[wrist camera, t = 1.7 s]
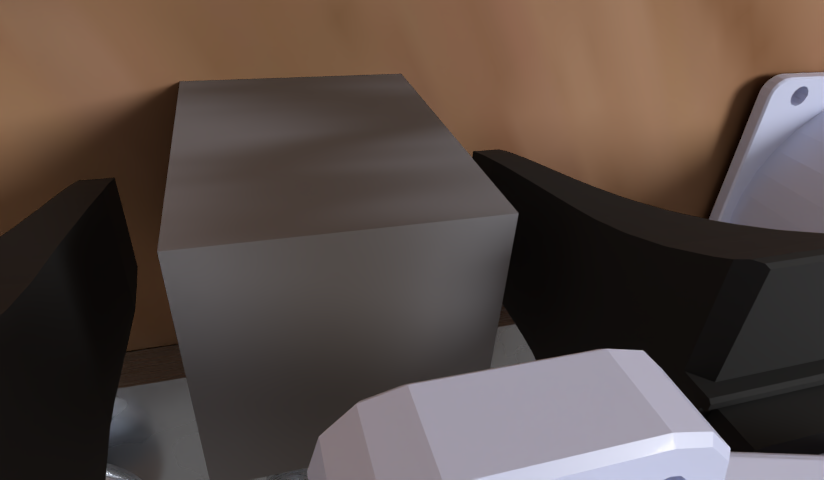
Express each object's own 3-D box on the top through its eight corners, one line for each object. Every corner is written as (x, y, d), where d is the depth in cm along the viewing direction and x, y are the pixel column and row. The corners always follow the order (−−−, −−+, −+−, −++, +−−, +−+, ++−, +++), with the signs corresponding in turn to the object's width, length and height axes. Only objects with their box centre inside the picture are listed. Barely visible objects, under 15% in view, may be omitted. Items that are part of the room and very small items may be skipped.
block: (400, 73, 12) (518, 213, 8) (393, 245, 15) (478, 432, 10) (179, 81, 11) (156, 251, 6) (211, 266, 14) (211, 488, 9)
